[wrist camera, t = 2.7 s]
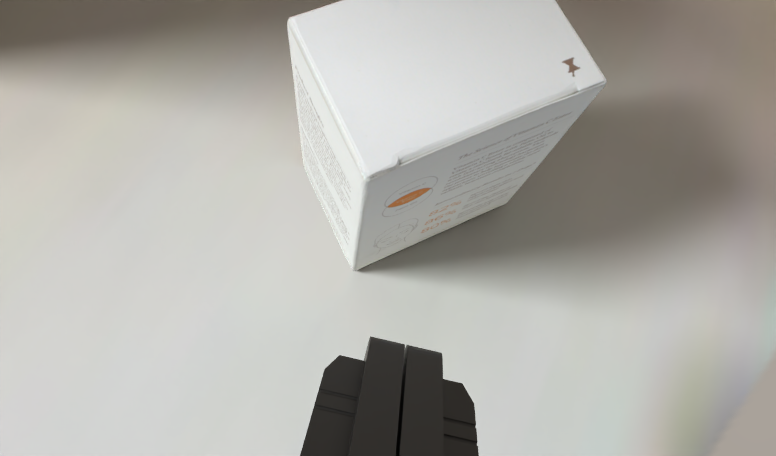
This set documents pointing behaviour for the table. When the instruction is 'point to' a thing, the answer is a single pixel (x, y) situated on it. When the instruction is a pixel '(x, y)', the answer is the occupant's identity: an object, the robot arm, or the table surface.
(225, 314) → the table surface
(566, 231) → the table surface
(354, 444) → the robot arm
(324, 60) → the small box
